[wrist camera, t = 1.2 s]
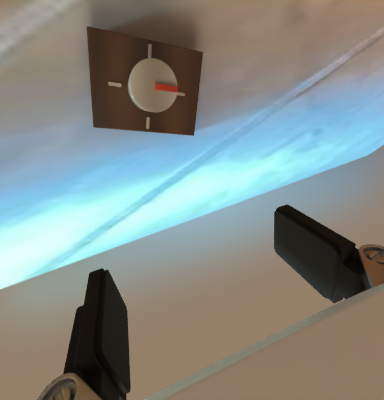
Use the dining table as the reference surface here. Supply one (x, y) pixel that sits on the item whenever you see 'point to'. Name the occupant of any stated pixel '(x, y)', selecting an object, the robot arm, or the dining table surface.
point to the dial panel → (118, 83)
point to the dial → (152, 85)
